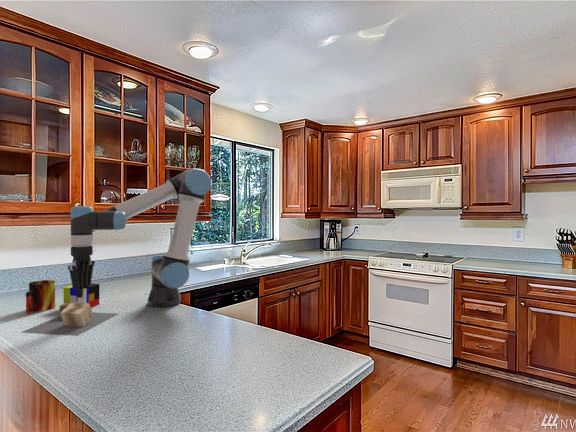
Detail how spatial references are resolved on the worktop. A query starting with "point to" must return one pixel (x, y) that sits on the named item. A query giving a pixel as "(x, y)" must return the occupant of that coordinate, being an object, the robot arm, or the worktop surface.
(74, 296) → the puzzle toy
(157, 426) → the worktop surface
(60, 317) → the walnut cube
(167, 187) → the robot arm
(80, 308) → the oak block
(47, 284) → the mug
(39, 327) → the mat
